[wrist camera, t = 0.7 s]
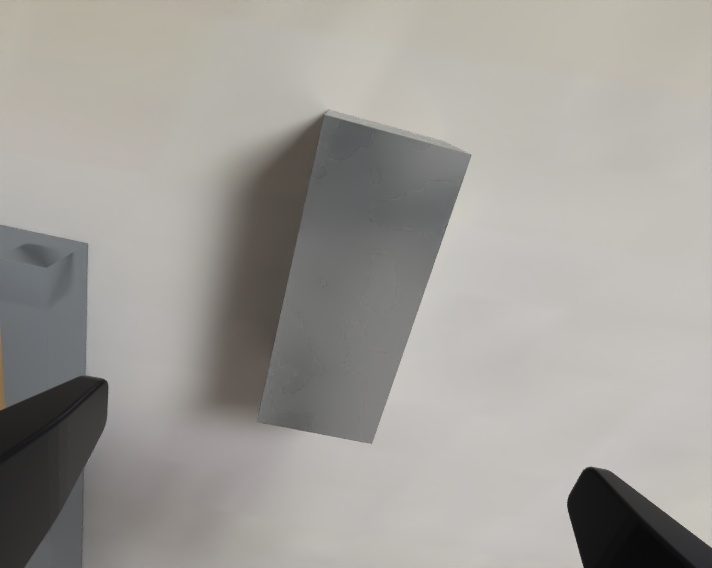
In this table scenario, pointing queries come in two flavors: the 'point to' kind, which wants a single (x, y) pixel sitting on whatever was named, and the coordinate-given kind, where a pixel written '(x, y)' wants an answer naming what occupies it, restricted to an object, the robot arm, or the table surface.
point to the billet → (358, 274)
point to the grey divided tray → (44, 349)
